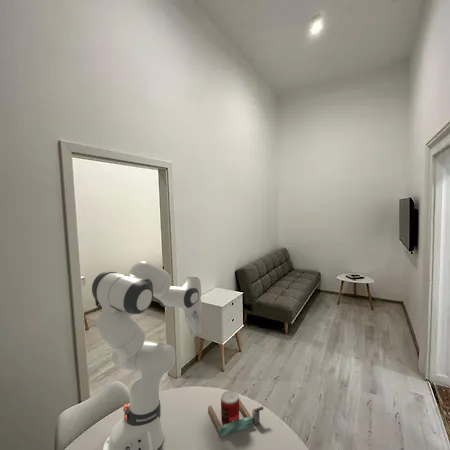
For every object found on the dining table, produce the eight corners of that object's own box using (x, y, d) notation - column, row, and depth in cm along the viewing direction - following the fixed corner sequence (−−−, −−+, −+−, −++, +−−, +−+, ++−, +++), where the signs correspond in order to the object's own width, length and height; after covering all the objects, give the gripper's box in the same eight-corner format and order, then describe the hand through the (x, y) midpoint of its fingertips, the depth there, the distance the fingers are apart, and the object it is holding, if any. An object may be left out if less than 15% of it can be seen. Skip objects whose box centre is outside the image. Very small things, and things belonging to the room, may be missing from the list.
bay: (219, 438, 102) (219, 423, 102) (208, 412, 116) (207, 399, 116) (265, 423, 109) (264, 409, 109) (248, 400, 124) (248, 388, 124)
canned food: (241, 416, 113) (240, 391, 113) (237, 430, 106) (236, 403, 106) (224, 413, 115) (223, 389, 115) (219, 427, 108) (218, 401, 108)
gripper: (204, 314, 121) (205, 343, 121) (193, 302, 140) (194, 328, 140) (191, 316, 119) (192, 346, 119) (182, 304, 138) (182, 330, 138)
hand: (193, 336), depth 129 cm, fingers closed
